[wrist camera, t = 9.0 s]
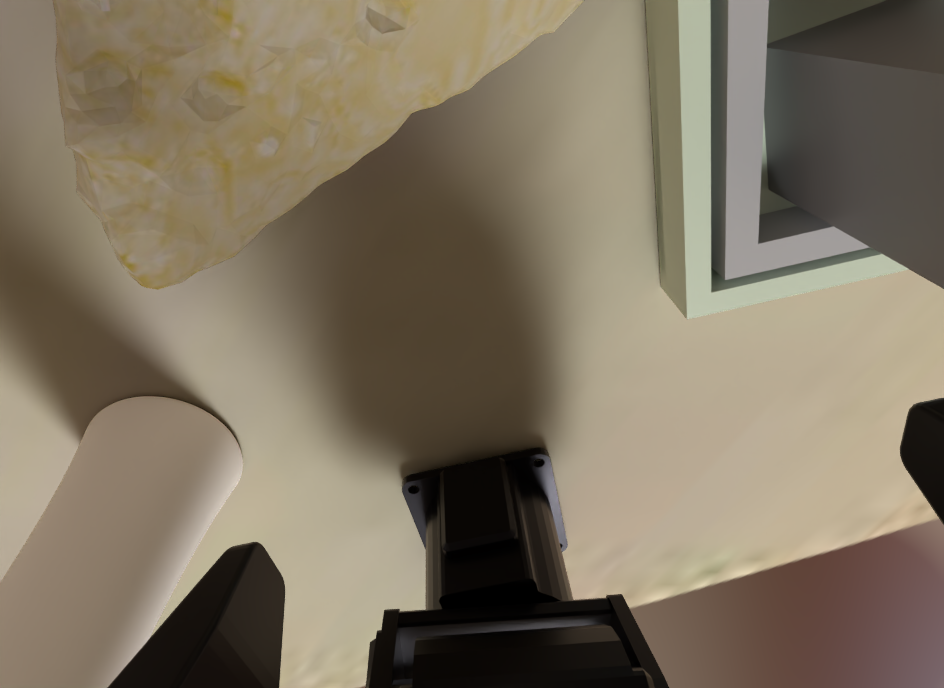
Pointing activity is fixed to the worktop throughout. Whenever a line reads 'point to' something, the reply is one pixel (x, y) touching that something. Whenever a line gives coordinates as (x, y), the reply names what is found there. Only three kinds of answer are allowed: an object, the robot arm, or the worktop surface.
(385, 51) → the cheese
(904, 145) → the plug
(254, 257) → the worktop surface
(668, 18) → the box
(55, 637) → the cosmetic bottle
